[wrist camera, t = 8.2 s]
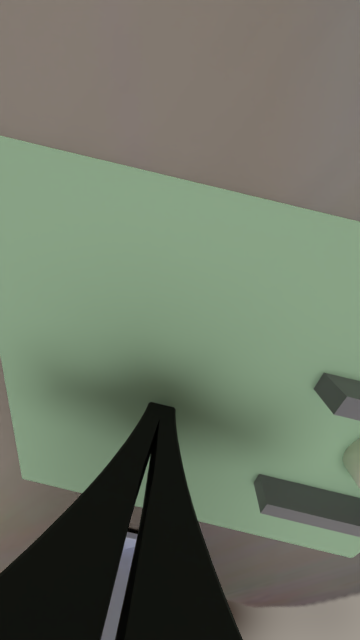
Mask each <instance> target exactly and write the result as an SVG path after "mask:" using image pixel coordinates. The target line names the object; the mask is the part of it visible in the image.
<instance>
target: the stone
mask: <svg viewBox="0 0 360 640" xmlns="http://www.w3.org/2000/svg"><path fill="white" fill-rule="evenodd" d="M343 463H344V466H345V467H346V469H347V470H348V472H349V473H350V475H351V476H352V478H353V479H354V481H355V483H356V484H357V486H358V487H359V489H360V438H359V439H357V440H356V441H354V442H353V443H352V444H351V445H350V446H349V447H348V448H347V449H346V451H345V452H344V455H343Z"/></svg>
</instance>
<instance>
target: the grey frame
mask: <svg viewBox="0 0 360 640" xmlns="http://www.w3.org/2000/svg"><path fill="white" fill-rule="evenodd" d="M314 390H315V391H316V393H317V394H318V395H319V397H320V398H321V399H322V400H323V402H324V403H325V404H326V405H327V407H328V408H329V409H330V411H331V412H332V413H333V414H334V415H337V416H342V417H346V418H350V419H354V420H358V421H360V381H357V380H353V379H349V378H345V377H340V376H336V375H332V374H328V373H323V375H322V376H321V378H320V379H319V381H318V383H317V384H316V386H315V387H314ZM254 487H255V492H256V496H257V500H258V505H259V509H260V513H261V514H265V515H269V516H273V517H278V518H282V519H286V520H290V521H294V522H298V523H303V524H307V525H311V526H315V527H319V528H323V529H327V530H332V531H336V532H340V533H344V534H348V535H352V536H357V537H360V498H358V497H354V496H349V495H345V494H341V493H337V492H333V491H329V490H324V489H320V488H316V487H312V486H308V485H304V484H300V483H295V482H291V481H287V480H283V479H279V478H275V477H270V476H266V475H262V474H259V475H258V477H257V478H256V480H255V481H254Z"/></svg>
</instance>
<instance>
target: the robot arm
mask: <svg viewBox="0 0 360 640" xmlns="http://www.w3.org/2000/svg"><path fill="white" fill-rule="evenodd" d="M150 454H151V455H150ZM149 458H150V462H149V469H148V475H147V482H146V489H145V495H144V502H143V509H142V515H141V520H140V526H139V530H138V534H135V533H131V532H127V531H128V527H129V523H130V519H131V516H132V512H133V509H134V506H135V502H136V499H137V496H138V493H139V490H140V486H141V483H142V480H143V477H144V474H145V470H146V467H147V464H148V461H149ZM0 640H243V639H242V637H241V634H240V632H239V630H238V627H237V625H236V623H235V620H234V618H233V615H232V613H231V610H230V608H229V605H228V603H227V600H226V598H225V595H224V593H223V590H222V587H221V585H220V582H219V579H218V577H217V574H216V572H215V569H214V566H213V564H212V561H211V558H210V555H209V552H208V549H207V546H206V543H205V541H204V538H203V535H202V532H201V529H200V526H199V523H198V520H197V516H196V513H195V510H194V507H193V503H192V500H191V496H190V492H189V489H188V485H187V481H186V477H185V472H184V468H183V464H182V459H181V453H180V448H179V442H178V436H177V427H176V409H175V408H174V407H171V406H166V405H162V404H158V403H154V402H150V403H148V406H147V408H146V410H145V412H144V414H143V415H142V417H141V419H140V421H139V422H138V424H137V425H136V427H135V428H134V430H133V431H132V433H131V434H130V436H129V437H128V439H127V440H126V441H125V443H124V444H123V445H122V447H121V448H120V449H119V451H118V452H117V453H116V455H115V456H114V457H113V458H112V460H111V461H110V462H109V463H108V465H107V466H106V467H105V468H104V469H103V471H102V472H101V473H100V474H99V475H98V476H97V478H96V479H95V480H94V481H93V482H92V483H91V484H90V485H89V487H88V488H87V489H86V490H85V491H84V492H83V493H82V494H81V495H80V496H79V497H78V499H77V500H76V501H75V502H74V503H73V504H72V505H71V506H70V507H69V508H68V509H67V510H66V511H65V512H64V513H63V514H62V515H61V516H60V517H59V518H58V519H57V520H56V521H55V522H54V523H53V524H52V525H51V526H50V527H49V528H48V529H47V530H46V531H45V532H44V533H43V534H42V535H41V536H40V537H39V538H38V539H37V540H36V541H35V542H34V543H33V544H32V545H31V546H30V547H29V548H27V549H26V550H25V551H24V552H23V553H22V554H21V555H20V556H19V557H18V558H17V559H16V560H14V561H13V562H12V563H11V564H10V565H9V566H8V567H7V568H6V569H5V570H4V571H2V572H1V573H0Z"/></svg>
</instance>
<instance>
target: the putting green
mask: <svg viewBox="0 0 360 640" xmlns="http://www.w3.org/2000/svg"><path fill="white" fill-rule="evenodd" d="M0 355H1V361H2V367H3V372H4V378H5V384H6V389H7V395H8V401H9V406H10V412H11V418H12V423H13V429H14V435H15V440H16V446H17V452H18V457H19V463H20V468H21V474H22V479H26V480H30V481H34V482H38V483H42V484H46V485H51V486H55V487H59V488H63V489H67V490H71V491H75V492H80V493H83V492H84V491H85V490H86V489H87V488H88V487H89V485H90V484H91V483H92V482H93V481H94V480H95V479H96V478H97V476H98V475H99V474H100V473H101V472H102V471H103V469H104V468H105V467H106V466H107V465H108V463H109V462H110V461H111V460H112V458H113V457H114V456H115V455H116V453H117V452H118V451H119V449H120V448H121V447H122V445H123V444H124V443H125V441H126V440H127V439H128V437H129V436H130V434H131V433H132V431H133V430H134V428H135V427H136V425H137V424H138V422H139V421H140V419H141V417H142V415H143V414H144V412H145V410H146V408H147V406H148V403H150V402H154V403H158V404H162V405H166V406H171V407H174V408H175V409H176V427H177V436H178V442H179V448H180V453H181V459H182V464H183V468H184V472H185V477H186V481H187V485H188V489H189V492H190V496H191V500H192V503H193V507H194V510H195V513H196V516H197V520H198V521H200V522H204V523H208V524H212V525H217V526H221V527H225V528H229V529H233V530H237V531H241V532H246V533H250V534H254V535H258V536H262V537H266V538H271V539H275V540H279V541H283V542H287V543H291V544H295V545H300V546H304V547H308V548H312V549H316V550H320V551H325V552H329V553H333V554H337V555H341V556H345V557H349V558H353V557H354V556H356V555H357V554H358V553H360V537H357V536H352V535H348V534H344V533H340V532H336V531H332V530H327V529H323V528H319V527H315V526H311V525H307V524H303V523H298V522H294V521H290V520H286V519H282V518H278V517H273V516H269V515H265V514H261V513H260V509H259V505H258V500H257V496H256V492H255V487H254V481H255V480H256V478H257V477H258V475H259V474H262V475H266V476H270V477H275V478H279V479H283V480H287V481H291V482H295V483H300V484H304V485H308V486H312V487H316V488H320V489H324V490H329V491H333V492H337V493H341V494H345V495H349V496H354V497H358V498H360V489H359V487H358V486H357V484H356V483H355V481H354V479H353V478H352V476H351V475H350V473H349V472H348V470H347V469H346V467H345V466H344V463H343V455H344V452H345V451H346V449H347V448H348V447H349V446H350V445H351V444H352V443H353V442H354V441H356V440H357V439H359V438H360V421H358V420H354V419H350V418H346V417H342V416H337V415H334V414H333V413H332V412H331V411H330V409H329V408H328V407H327V405H326V404H325V403H324V402H323V400H322V399H321V398H320V397H319V395H318V394H317V393H316V391H315V390H314V387H315V386H316V384H317V383H318V381H319V379H320V378H321V376H322V375H323V373H328V374H332V375H336V376H340V377H345V378H349V379H353V380H357V381H360V222H359V221H355V220H350V219H346V218H342V217H338V216H334V215H329V214H325V213H321V212H317V211H313V210H309V209H304V208H300V207H296V206H292V205H288V204H283V203H279V202H275V201H271V200H267V199H263V198H258V197H254V196H250V195H246V194H242V193H238V192H233V191H229V190H225V189H221V188H217V187H212V186H208V185H204V184H200V183H196V182H192V181H187V180H183V179H179V178H175V177H171V176H166V175H162V174H158V173H154V172H150V171H146V170H141V169H137V168H133V167H129V166H125V165H121V164H116V163H112V162H108V161H104V160H100V159H95V158H91V157H87V156H83V155H79V154H75V153H70V152H66V151H62V150H58V149H54V148H49V147H45V146H41V145H37V144H33V143H29V142H24V141H20V140H16V139H12V138H8V137H4V136H0ZM150 455H151V454H150ZM149 462H150V458H149V461H148V464H147V467H146V470H145V474H144V477H143V480H142V483H141V486H140V490H139V493H138V496H137V499H136V502H135V506H138V507H142V508H143V502H144V495H145V489H146V482H147V475H148V469H149Z"/></svg>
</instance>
